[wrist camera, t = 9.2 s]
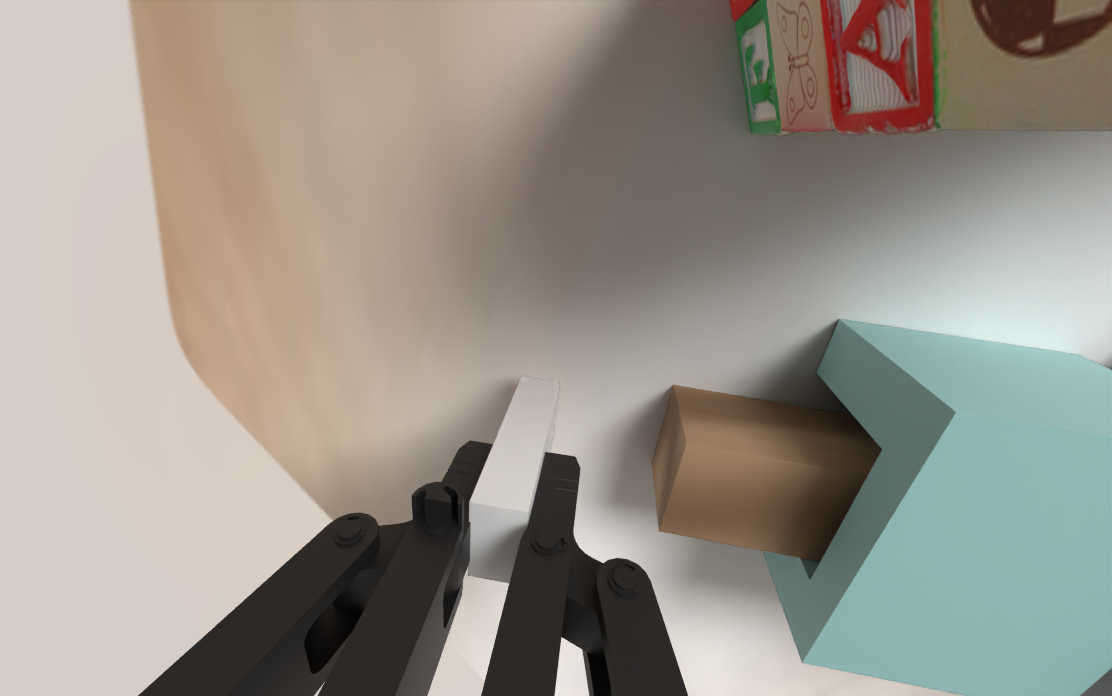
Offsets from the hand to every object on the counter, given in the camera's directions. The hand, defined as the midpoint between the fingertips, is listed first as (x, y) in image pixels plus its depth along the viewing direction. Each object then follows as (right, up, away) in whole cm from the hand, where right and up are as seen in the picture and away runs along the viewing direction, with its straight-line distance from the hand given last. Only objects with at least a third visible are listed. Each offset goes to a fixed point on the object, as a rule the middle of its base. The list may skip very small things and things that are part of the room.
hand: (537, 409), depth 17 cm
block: (+14, -2, 0) cm, 14 cm away
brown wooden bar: (+10, -2, +1) cm, 10 cm away
